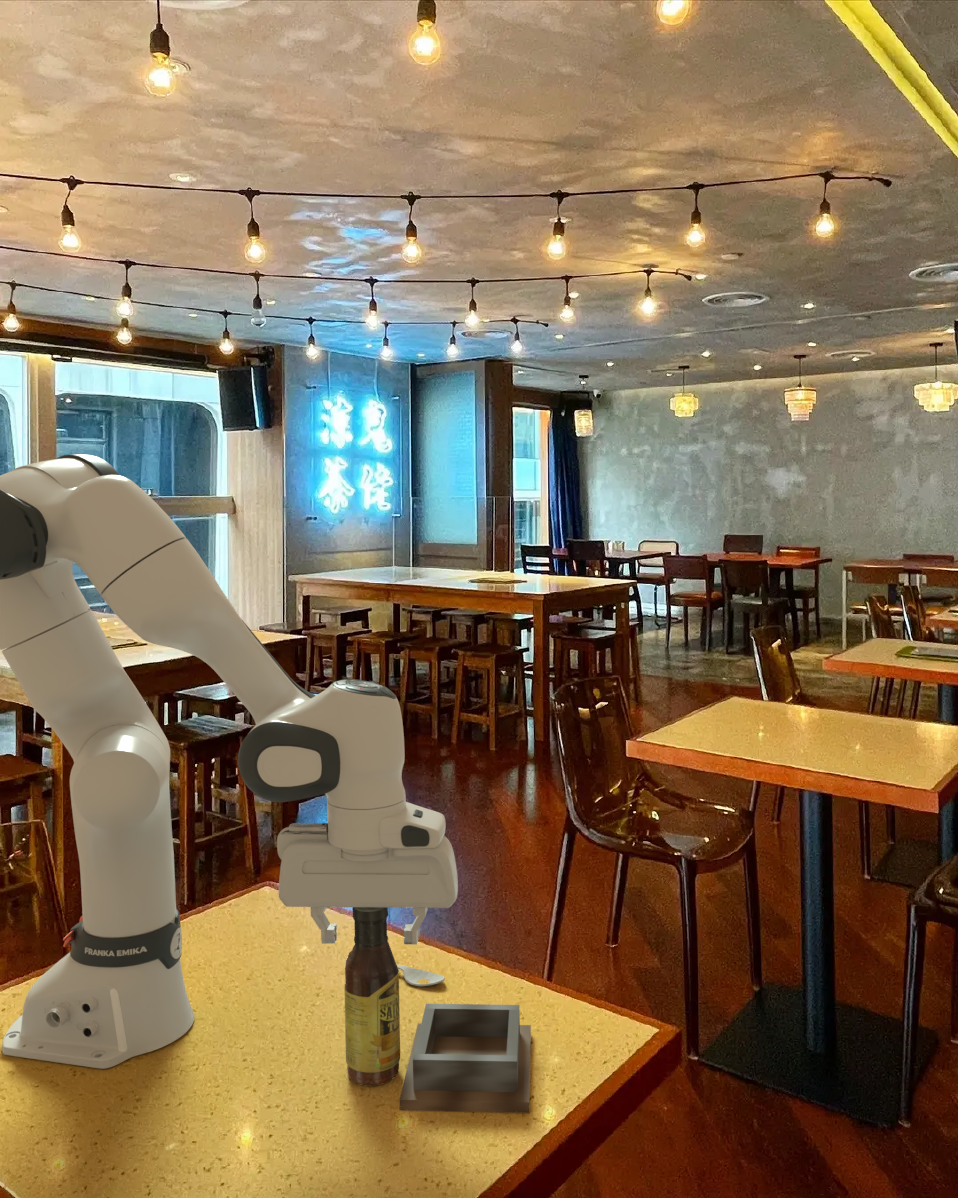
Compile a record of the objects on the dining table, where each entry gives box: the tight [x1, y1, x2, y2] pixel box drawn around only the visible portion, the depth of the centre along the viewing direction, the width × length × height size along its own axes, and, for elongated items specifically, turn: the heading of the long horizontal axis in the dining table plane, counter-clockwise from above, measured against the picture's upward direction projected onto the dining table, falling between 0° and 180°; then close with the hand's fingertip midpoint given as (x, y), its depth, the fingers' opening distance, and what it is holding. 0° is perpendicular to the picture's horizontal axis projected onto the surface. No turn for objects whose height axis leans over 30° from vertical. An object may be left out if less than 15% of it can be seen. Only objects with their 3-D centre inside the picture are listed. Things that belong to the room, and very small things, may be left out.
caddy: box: [398, 1003, 532, 1114], centre depth 113 cm, size 14×16×5 cm
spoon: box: [397, 964, 445, 987], centre depth 138 cm, size 4×21×2 cm, turn 56°
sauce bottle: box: [344, 907, 401, 1087], centre depth 112 cm, size 6×6×20 cm
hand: (370, 942), depth 111 cm, fingers open, 8 cm apart
